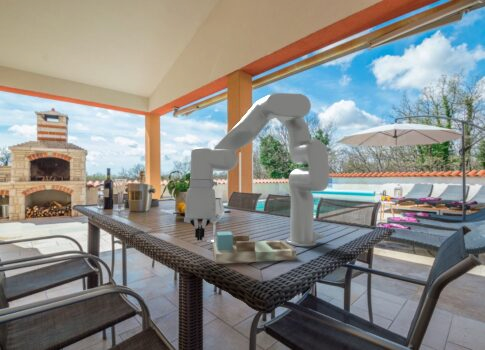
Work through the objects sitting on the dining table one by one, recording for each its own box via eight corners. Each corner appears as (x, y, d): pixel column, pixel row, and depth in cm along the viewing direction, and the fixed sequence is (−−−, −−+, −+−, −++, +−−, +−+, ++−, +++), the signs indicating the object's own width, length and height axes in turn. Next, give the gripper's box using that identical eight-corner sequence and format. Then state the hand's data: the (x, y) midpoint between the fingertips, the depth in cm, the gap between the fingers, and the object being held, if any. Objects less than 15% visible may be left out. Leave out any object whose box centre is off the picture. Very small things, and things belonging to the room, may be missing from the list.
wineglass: (205, 238, 108) (205, 197, 108) (223, 238, 108) (224, 197, 108) (203, 243, 99) (204, 199, 100) (223, 243, 100) (224, 199, 100)
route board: (282, 248, 95) (282, 232, 95) (296, 259, 83) (296, 241, 83) (212, 251, 90) (212, 234, 90) (215, 263, 77) (216, 244, 77)
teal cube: (230, 245, 87) (230, 231, 87) (232, 249, 82) (233, 234, 82) (216, 246, 86) (216, 231, 86) (217, 250, 81) (218, 235, 81)
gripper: (222, 185, 88) (220, 236, 88) (179, 184, 85) (177, 237, 84) (225, 185, 80) (223, 242, 80) (177, 184, 77) (175, 243, 77)
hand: (199, 239), depth 82 cm, fingers closed
